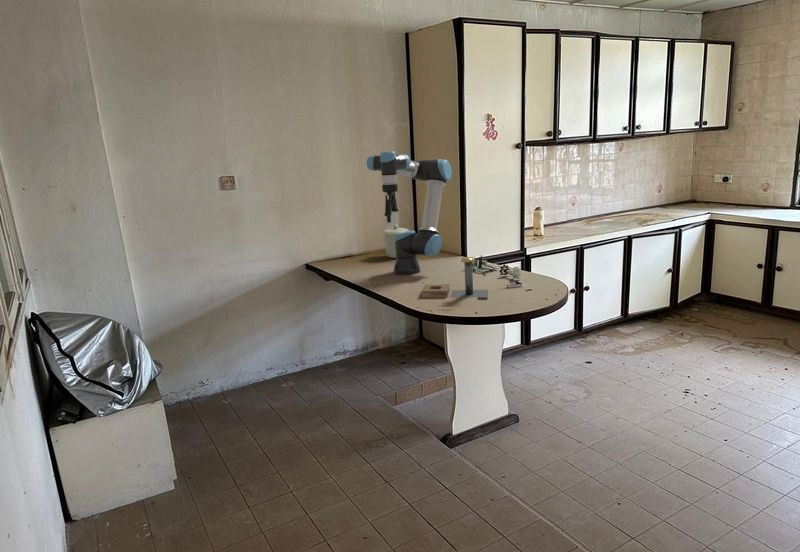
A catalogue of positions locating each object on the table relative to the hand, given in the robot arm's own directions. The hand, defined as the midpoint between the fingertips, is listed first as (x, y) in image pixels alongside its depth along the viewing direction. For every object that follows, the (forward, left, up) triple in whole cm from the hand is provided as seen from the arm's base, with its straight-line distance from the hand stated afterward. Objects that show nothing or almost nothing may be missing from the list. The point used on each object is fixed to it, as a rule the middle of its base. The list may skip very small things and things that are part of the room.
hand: (392, 226), depth 279 cm
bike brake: (-34, +44, -32) cm, 64 cm away
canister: (-77, -13, -32) cm, 84 cm away
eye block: (+15, +22, -32) cm, 41 cm away
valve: (-17, +58, -32) cm, 68 cm away
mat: (+15, +38, -32) cm, 52 cm away
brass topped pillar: (+16, +38, -31) cm, 51 cm away
